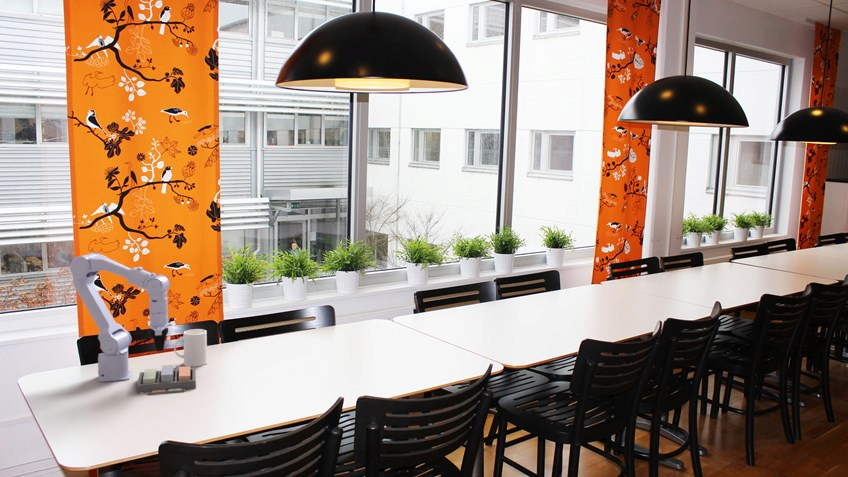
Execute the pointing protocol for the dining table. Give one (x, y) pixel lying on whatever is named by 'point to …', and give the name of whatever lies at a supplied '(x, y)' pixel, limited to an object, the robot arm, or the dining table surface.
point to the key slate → (167, 373)
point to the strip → (166, 391)
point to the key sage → (149, 376)
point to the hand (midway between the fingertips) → (159, 350)
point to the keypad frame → (166, 385)
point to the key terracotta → (184, 373)
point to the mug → (194, 347)
